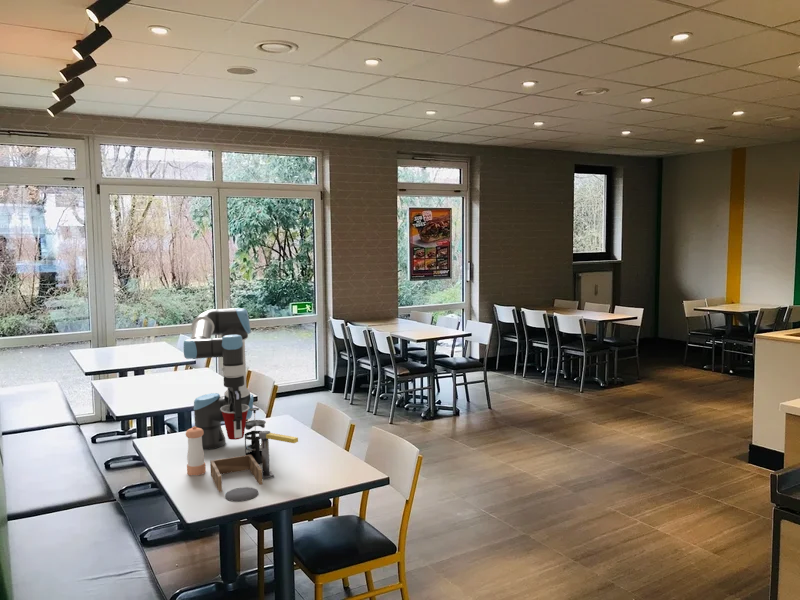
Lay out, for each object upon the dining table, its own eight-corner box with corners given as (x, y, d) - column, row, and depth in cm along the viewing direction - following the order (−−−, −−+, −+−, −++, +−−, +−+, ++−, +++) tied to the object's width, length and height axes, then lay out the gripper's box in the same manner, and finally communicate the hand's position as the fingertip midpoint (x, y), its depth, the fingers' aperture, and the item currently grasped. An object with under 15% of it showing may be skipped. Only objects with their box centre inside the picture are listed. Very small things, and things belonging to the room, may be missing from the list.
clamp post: (258, 475, 260) (257, 437, 258) (271, 473, 262) (269, 436, 260) (261, 479, 255) (259, 441, 254) (273, 477, 257) (272, 439, 256)
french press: (269, 463, 274) (267, 410, 272) (247, 466, 270) (245, 412, 268) (264, 455, 285) (262, 403, 283) (243, 458, 281) (240, 406, 279)
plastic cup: (227, 443, 240) (226, 411, 239) (217, 437, 249) (216, 406, 248) (255, 438, 247) (253, 407, 246) (244, 432, 255) (243, 402, 254)
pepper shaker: (204, 474, 262) (202, 428, 260) (185, 476, 260) (183, 429, 259) (206, 468, 269) (204, 423, 267) (188, 470, 268) (186, 424, 266)
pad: (222, 492, 243) (222, 490, 243) (254, 486, 248) (254, 485, 247) (228, 503, 232) (228, 502, 232) (261, 497, 237) (261, 496, 237)
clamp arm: (292, 444, 247) (292, 439, 247) (256, 438, 256) (256, 433, 256) (299, 441, 251) (299, 436, 250) (264, 435, 260) (264, 430, 260)
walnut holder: (210, 475, 261) (210, 460, 261) (251, 468, 268) (251, 454, 268) (218, 492, 243) (218, 476, 242) (262, 484, 250) (261, 469, 249)
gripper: (219, 372, 254) (221, 429, 255) (228, 381, 235) (230, 443, 237) (238, 370, 257) (240, 426, 259) (249, 379, 238) (251, 440, 240)
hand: (236, 434), depth 248 cm, fingers closed on plastic cup, 8 cm apart
